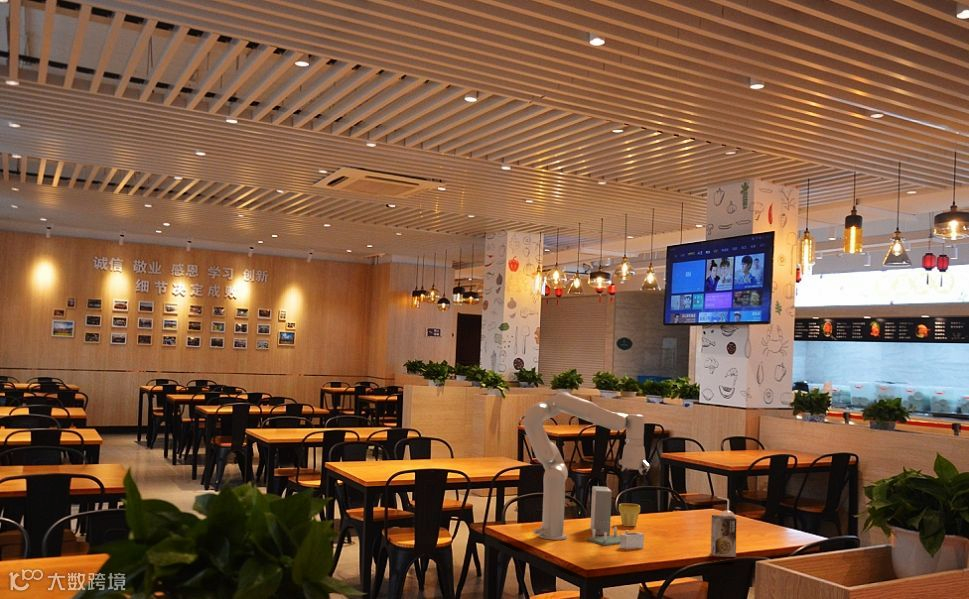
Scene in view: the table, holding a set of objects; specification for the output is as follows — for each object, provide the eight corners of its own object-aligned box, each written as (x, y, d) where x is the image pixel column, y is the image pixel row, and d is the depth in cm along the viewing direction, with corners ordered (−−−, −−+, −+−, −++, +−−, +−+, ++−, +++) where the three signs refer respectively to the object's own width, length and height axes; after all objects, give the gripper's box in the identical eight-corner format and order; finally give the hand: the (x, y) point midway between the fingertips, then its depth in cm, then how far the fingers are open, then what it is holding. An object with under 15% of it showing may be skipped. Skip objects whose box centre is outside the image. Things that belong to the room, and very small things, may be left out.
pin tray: (604, 545, 367) (605, 534, 367) (587, 540, 376) (587, 528, 376) (632, 542, 377) (633, 530, 377) (615, 537, 386) (615, 526, 386)
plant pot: (613, 524, 417) (614, 503, 417) (628, 522, 423) (629, 502, 423) (629, 528, 408) (629, 507, 409) (644, 526, 414) (644, 506, 415)
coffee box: (731, 553, 364) (732, 515, 366) (736, 557, 358) (737, 518, 359) (710, 552, 364) (711, 514, 365) (714, 556, 358) (715, 517, 359)
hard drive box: (610, 536, 388) (612, 491, 389) (593, 535, 388) (595, 490, 390) (606, 529, 404) (607, 486, 405) (589, 528, 404) (591, 485, 405)
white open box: (626, 550, 361) (626, 535, 362) (619, 548, 365) (620, 533, 365) (643, 548, 367) (643, 533, 367) (636, 546, 370) (637, 531, 371)
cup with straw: (733, 544, 384) (734, 499, 386) (713, 540, 389) (715, 496, 390) (738, 541, 391) (740, 497, 393) (719, 538, 396) (720, 494, 398)
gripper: (614, 440, 379) (612, 479, 378) (644, 445, 365) (642, 485, 364) (625, 440, 384) (624, 478, 383) (655, 444, 370) (654, 484, 369)
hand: (633, 481), depth 374 cm, fingers open, 9 cm apart
